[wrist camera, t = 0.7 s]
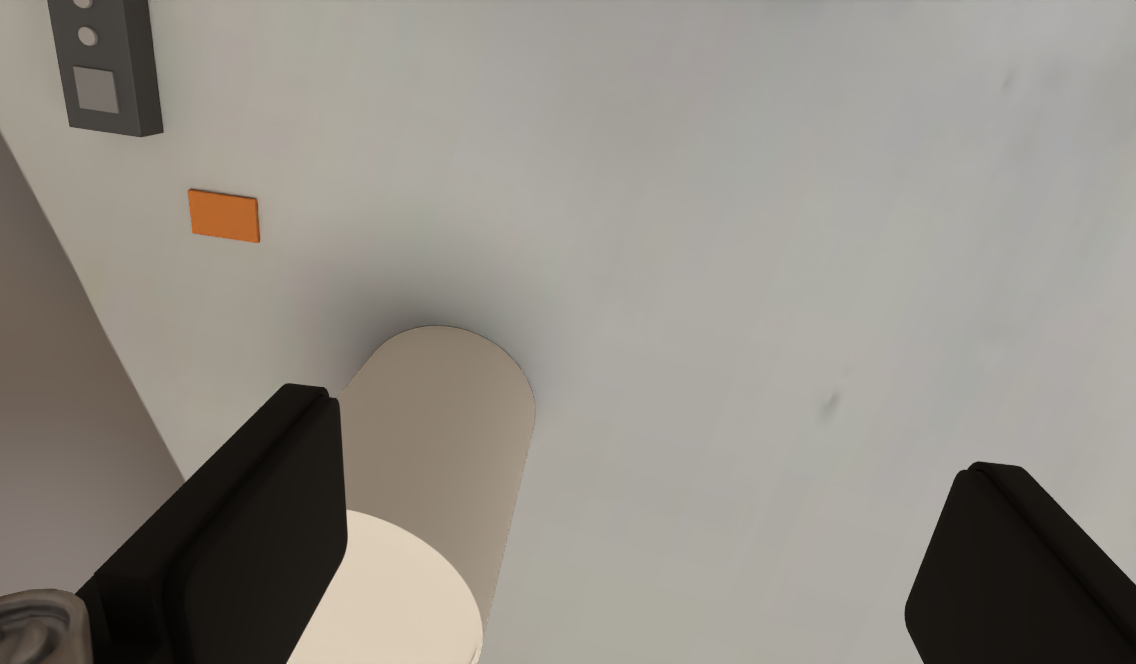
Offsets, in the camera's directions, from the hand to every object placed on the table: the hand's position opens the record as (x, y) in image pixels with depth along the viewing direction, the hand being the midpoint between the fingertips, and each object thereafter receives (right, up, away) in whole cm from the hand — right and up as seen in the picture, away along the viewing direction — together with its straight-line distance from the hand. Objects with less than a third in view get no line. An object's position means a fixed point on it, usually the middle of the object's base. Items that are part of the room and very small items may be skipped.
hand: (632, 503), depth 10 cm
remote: (-29, +22, +30) cm, 47 cm away
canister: (-10, -3, +40) cm, 41 cm away
